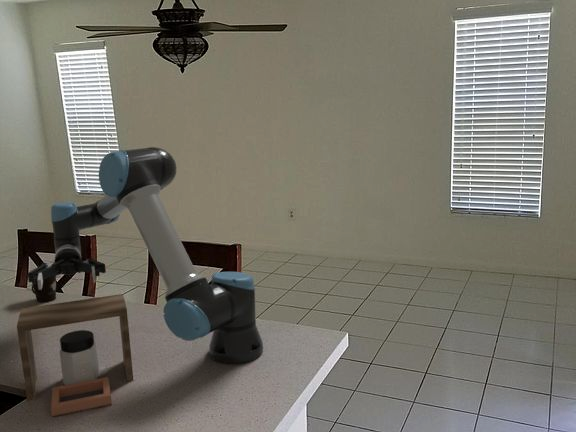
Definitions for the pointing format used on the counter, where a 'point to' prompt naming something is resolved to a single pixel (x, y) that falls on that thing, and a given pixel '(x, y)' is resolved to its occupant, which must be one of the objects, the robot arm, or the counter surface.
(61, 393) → the tray
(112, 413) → the counter surface
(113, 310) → the archway
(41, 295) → the coffee mug
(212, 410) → the counter surface
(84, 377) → the jar
